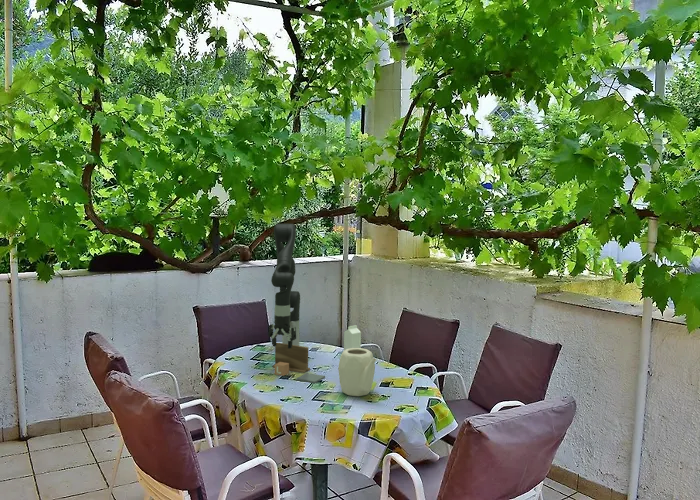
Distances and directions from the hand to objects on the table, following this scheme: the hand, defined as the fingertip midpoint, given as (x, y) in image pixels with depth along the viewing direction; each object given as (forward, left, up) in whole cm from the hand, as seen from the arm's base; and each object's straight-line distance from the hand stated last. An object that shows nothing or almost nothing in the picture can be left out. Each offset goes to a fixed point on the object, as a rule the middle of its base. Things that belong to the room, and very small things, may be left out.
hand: (282, 347), depth 284 cm
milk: (-24, +26, -13) cm, 38 cm away
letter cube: (0, 0, -13) cm, 13 cm away
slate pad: (0, +16, -13) cm, 21 cm away
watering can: (+8, +44, -13) cm, 47 cm away
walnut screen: (-9, 0, -13) cm, 16 cm away
